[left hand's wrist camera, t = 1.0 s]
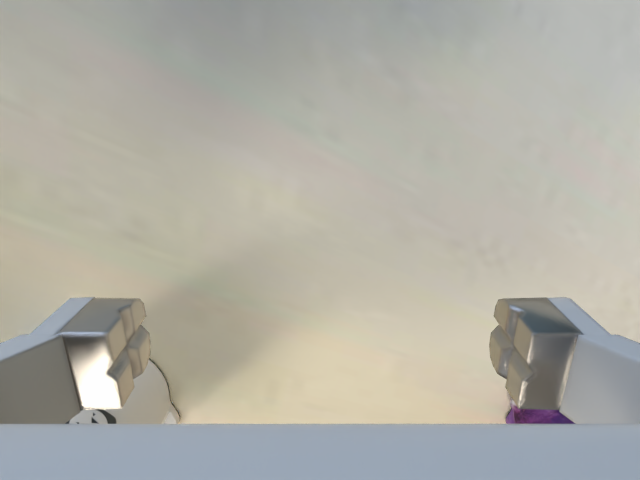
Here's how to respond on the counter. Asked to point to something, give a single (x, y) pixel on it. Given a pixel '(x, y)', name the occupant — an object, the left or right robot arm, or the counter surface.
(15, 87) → the counter surface
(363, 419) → the counter surface
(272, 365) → the counter surface
